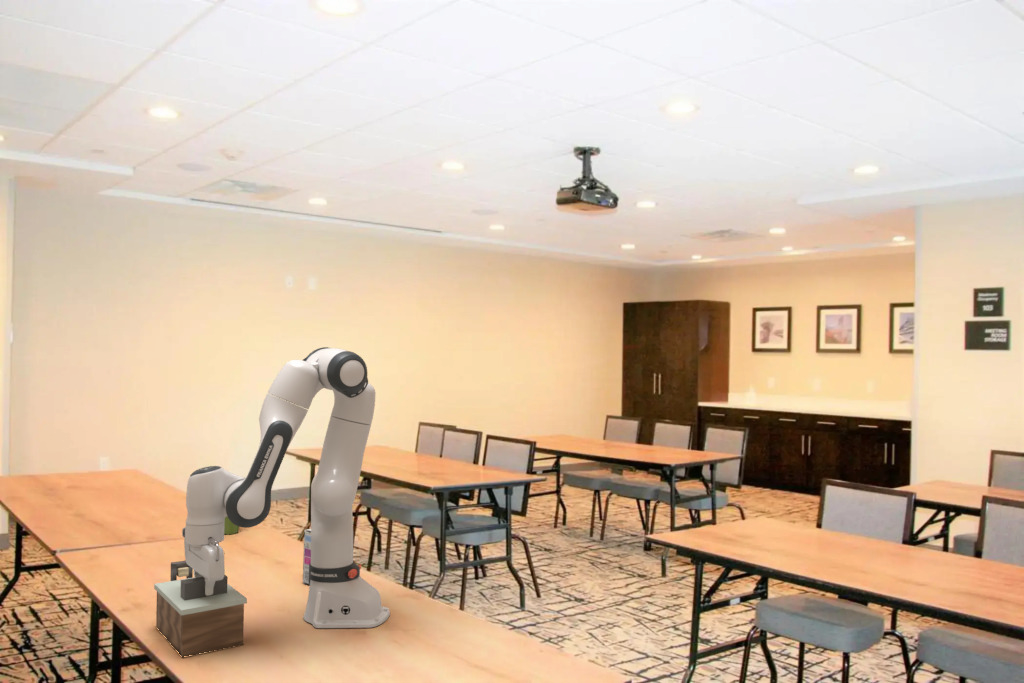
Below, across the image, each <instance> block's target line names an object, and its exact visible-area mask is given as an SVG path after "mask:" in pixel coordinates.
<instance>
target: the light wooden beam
mask: <svg viewBox="0 0 1024 683" xmlns="http://www.w3.org/2000/svg"><path fill="white" fill-rule="evenodd" d="M186 576H189V568H188V567H187V566H184V567H177V577H178V578H181V577H186Z"/></svg>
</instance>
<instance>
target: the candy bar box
mask: <svg viewBox="0 0 1024 683" xmlns="http://www.w3.org/2000/svg"><path fill="white" fill-rule="evenodd" d="M303 533H304V534H303V559H302V560H303V562H302V584H304V585H305V586H309V587H310V585H309V579H308V571H309V564H310V563H311V528H307V529H304V532H303Z"/></svg>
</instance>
